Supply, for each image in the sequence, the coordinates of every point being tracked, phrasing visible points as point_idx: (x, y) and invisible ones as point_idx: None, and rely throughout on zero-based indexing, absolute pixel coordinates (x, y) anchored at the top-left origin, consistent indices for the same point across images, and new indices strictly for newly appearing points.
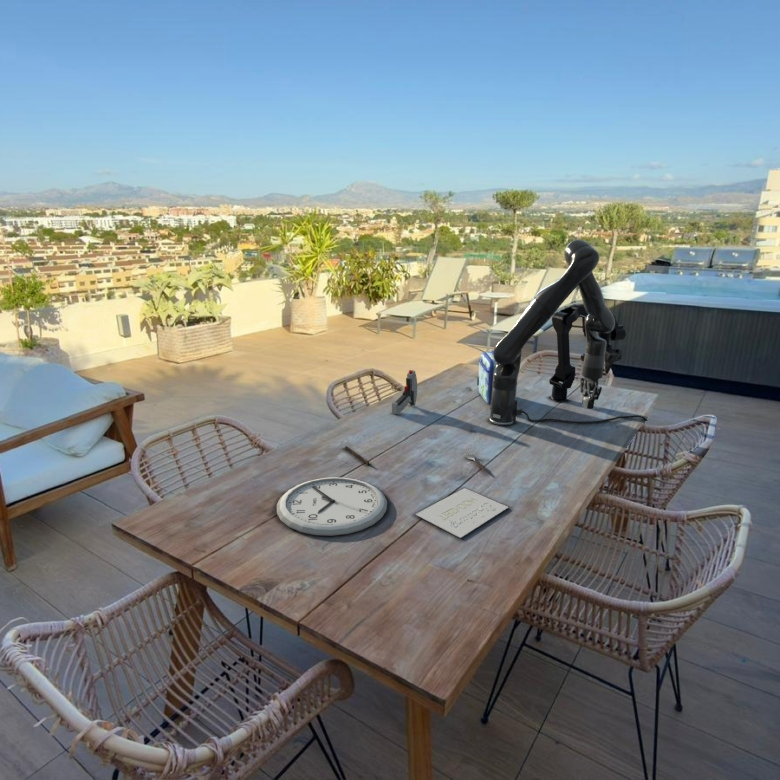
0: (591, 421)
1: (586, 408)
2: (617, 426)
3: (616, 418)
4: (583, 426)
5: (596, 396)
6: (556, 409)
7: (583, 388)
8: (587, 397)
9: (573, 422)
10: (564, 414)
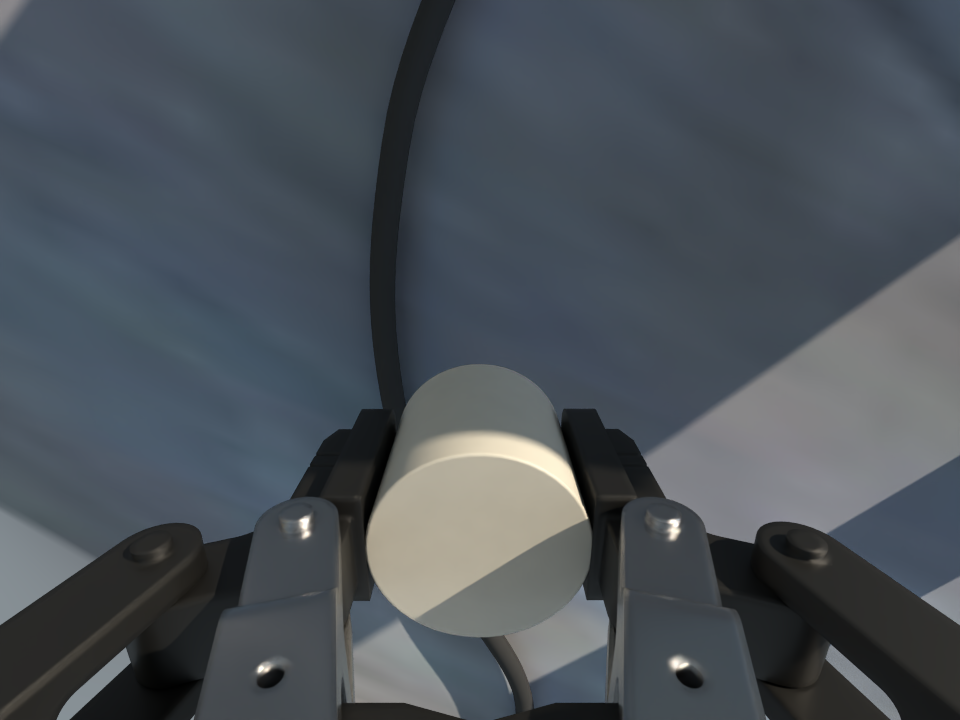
0: (384, 390)
1: (412, 397)
2: None
3: (490, 650)
4: (302, 256)
5: (163, 696)
6: (934, 166)
7: (678, 645)
8: (514, 539)
9: (380, 162)
10: (728, 196)
